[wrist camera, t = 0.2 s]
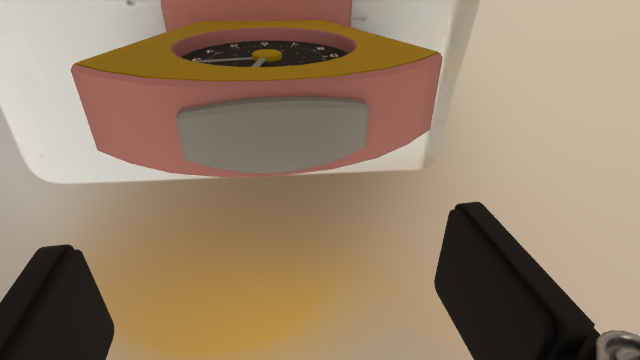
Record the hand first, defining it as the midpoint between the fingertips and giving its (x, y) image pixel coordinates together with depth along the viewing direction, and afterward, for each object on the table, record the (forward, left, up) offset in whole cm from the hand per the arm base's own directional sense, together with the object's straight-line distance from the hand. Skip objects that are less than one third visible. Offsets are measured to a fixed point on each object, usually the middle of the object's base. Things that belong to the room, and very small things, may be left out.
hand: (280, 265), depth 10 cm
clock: (0, +1, -31) cm, 31 cm away
